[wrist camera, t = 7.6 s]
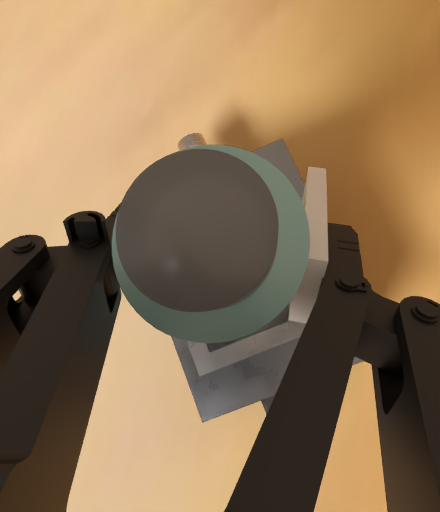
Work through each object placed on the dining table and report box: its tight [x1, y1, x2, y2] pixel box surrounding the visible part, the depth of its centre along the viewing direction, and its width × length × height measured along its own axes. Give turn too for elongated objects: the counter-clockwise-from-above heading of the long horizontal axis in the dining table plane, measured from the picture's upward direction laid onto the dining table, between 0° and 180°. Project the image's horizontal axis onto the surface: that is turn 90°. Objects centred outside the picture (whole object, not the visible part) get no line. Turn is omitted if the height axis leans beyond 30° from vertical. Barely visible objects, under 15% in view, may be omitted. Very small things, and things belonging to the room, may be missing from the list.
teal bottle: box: [112, 145, 310, 343], centre depth 13 cm, size 5×5×12 cm
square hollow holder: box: [171, 133, 363, 423], centre depth 24 cm, size 20×11×7 cm, turn 22°
